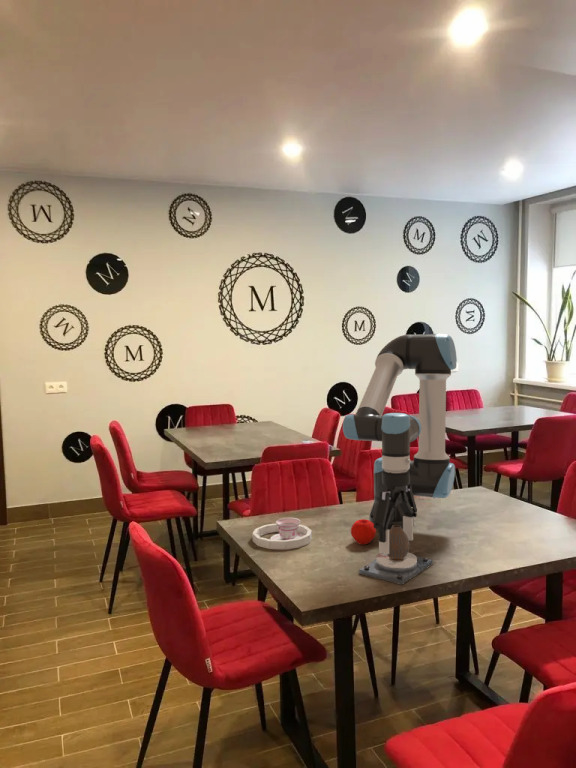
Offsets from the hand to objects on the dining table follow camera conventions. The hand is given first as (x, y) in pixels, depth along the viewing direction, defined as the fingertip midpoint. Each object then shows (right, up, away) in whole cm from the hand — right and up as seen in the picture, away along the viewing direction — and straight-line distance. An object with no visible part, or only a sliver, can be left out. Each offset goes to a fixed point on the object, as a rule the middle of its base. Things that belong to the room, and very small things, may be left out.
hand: (396, 546), depth 169 cm
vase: (0, -3, 0) cm, 3 cm away
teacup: (-30, -5, +27) cm, 40 cm away
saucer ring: (-32, -5, +27) cm, 42 cm away
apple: (-6, -5, +22) cm, 24 cm away
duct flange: (0, -6, 0) cm, 6 cm away
